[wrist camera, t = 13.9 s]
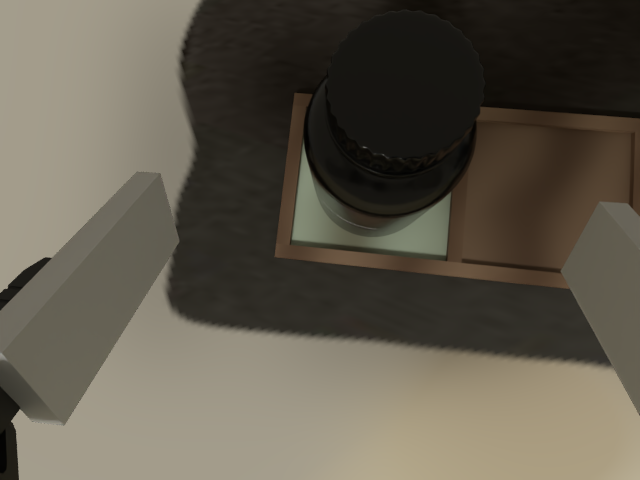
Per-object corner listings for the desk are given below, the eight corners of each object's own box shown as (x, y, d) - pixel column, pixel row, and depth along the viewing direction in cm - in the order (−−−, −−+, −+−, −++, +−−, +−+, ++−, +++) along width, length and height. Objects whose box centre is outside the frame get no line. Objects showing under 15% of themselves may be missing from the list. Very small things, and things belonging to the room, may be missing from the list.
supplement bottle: (323, 246, 23) (299, 208, 11) (309, 137, 24) (274, -7, 12) (438, 231, 23) (541, 176, 11) (421, 121, 23) (499, -44, 12)
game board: (826, 137, 22) (839, 133, 21) (830, 316, 21) (844, 318, 20) (295, 97, 24) (294, 93, 24) (276, 257, 23) (274, 256, 23)
